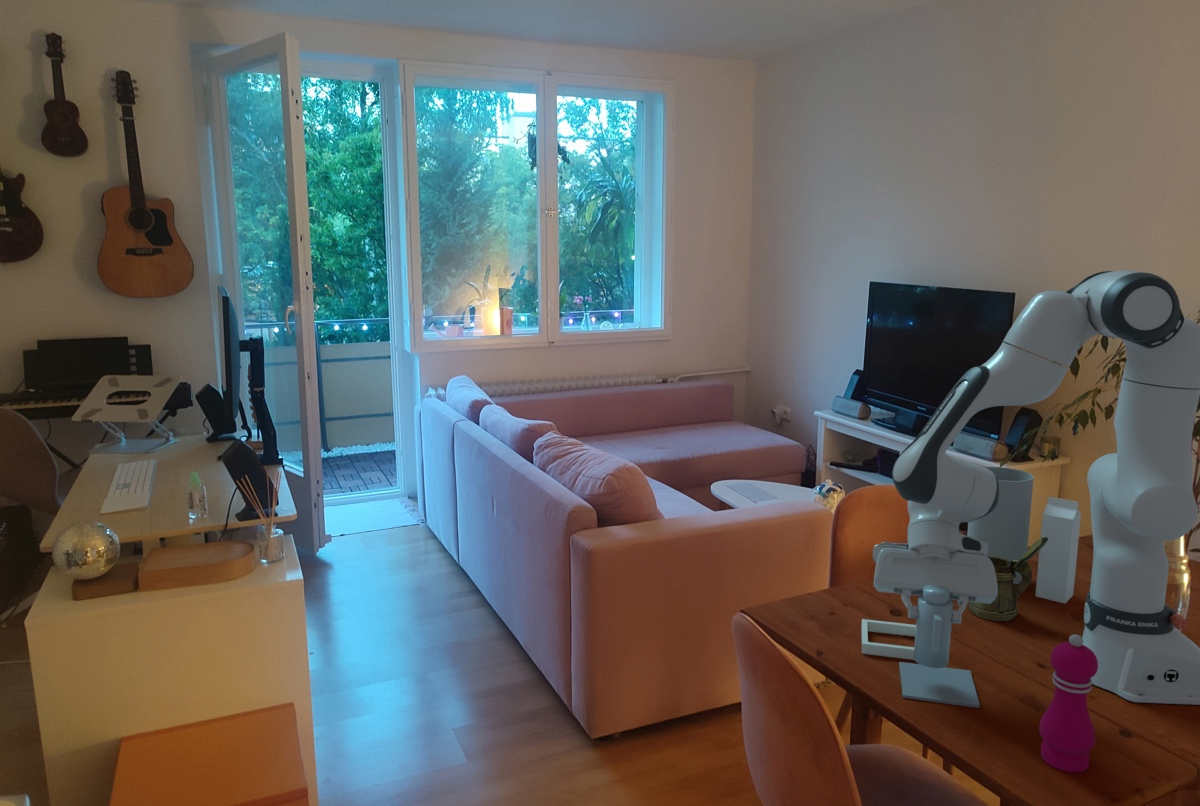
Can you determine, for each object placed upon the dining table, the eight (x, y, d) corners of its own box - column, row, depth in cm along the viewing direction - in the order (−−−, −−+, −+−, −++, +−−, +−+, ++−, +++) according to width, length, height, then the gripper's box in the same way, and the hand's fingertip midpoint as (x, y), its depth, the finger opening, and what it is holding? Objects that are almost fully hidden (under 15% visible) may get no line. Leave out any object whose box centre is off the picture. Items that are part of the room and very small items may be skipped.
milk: (1043, 588, 185) (1051, 493, 182) (1073, 596, 181) (1082, 498, 178) (1034, 596, 181) (1043, 499, 177) (1065, 604, 177) (1074, 504, 173)
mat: (970, 673, 149) (970, 670, 149) (979, 708, 138) (979, 705, 138) (899, 664, 152) (899, 661, 152) (902, 697, 141) (903, 694, 141)
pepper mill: (1064, 779, 119) (1077, 649, 116) (1025, 750, 126) (1036, 627, 122) (1104, 769, 121) (1118, 642, 117) (1064, 742, 128) (1076, 621, 124)
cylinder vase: (984, 564, 200) (992, 464, 195) (1035, 581, 189) (1045, 475, 185) (953, 576, 193) (960, 472, 188) (1004, 594, 183) (1013, 484, 178)
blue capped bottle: (946, 654, 146) (952, 585, 144) (951, 677, 139) (957, 604, 136) (912, 650, 148) (917, 581, 146) (916, 672, 140) (921, 600, 138)
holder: (919, 634, 164) (920, 625, 163) (924, 661, 153) (924, 651, 153) (861, 628, 167) (861, 619, 167) (862, 653, 157) (862, 643, 156)
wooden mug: (1039, 630, 165) (1047, 544, 162) (966, 615, 172) (972, 533, 169) (1042, 613, 173) (1049, 530, 170) (971, 600, 180) (977, 520, 176)
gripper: (874, 533, 150) (872, 605, 143) (997, 544, 145) (1001, 620, 137) (872, 548, 155) (870, 618, 148) (991, 559, 150) (995, 634, 142)
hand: (934, 619), depth 143 cm, fingers closed on blue capped bottle, 6 cm apart
